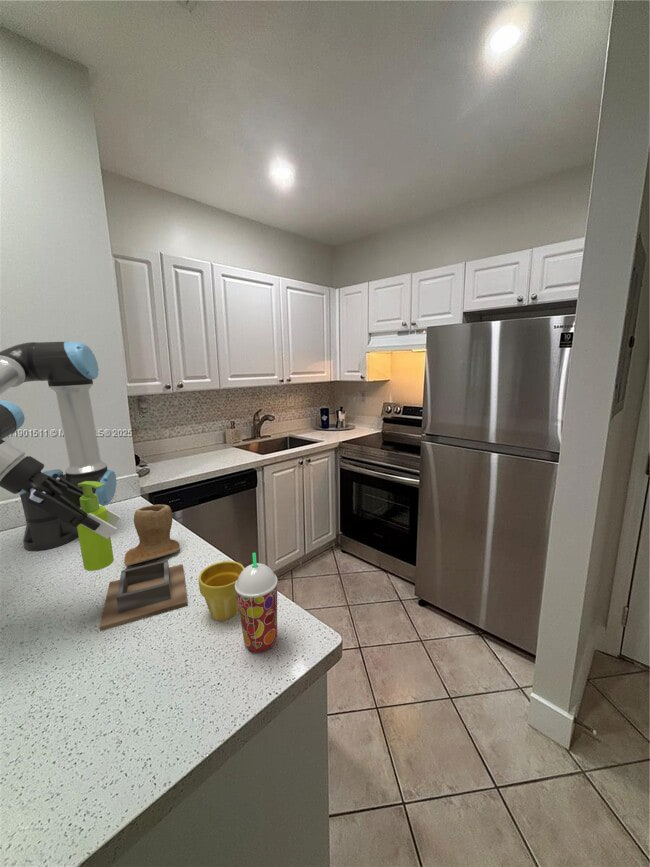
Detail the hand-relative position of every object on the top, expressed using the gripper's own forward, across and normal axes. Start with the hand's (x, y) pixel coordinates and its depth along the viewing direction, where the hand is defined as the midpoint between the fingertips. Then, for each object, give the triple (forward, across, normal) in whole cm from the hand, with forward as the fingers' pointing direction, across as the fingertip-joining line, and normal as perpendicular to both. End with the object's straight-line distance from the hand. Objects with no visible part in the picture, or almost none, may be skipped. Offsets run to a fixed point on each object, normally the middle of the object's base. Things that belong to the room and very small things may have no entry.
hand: (114, 527), depth 82 cm
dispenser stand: (+17, -2, -11) cm, 21 cm away
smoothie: (+33, +26, +5) cm, 43 cm away
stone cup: (+18, -23, -11) cm, 31 cm away
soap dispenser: (+3, 0, -9) cm, 9 cm away
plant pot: (+30, +13, +1) cm, 32 cm away
